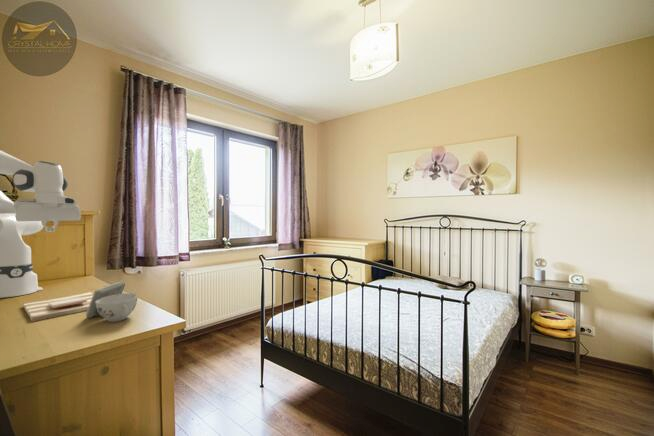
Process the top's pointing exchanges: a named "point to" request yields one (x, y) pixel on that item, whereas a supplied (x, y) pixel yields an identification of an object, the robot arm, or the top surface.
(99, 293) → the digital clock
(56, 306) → the tile
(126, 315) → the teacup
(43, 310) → the board
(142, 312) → the top surface
